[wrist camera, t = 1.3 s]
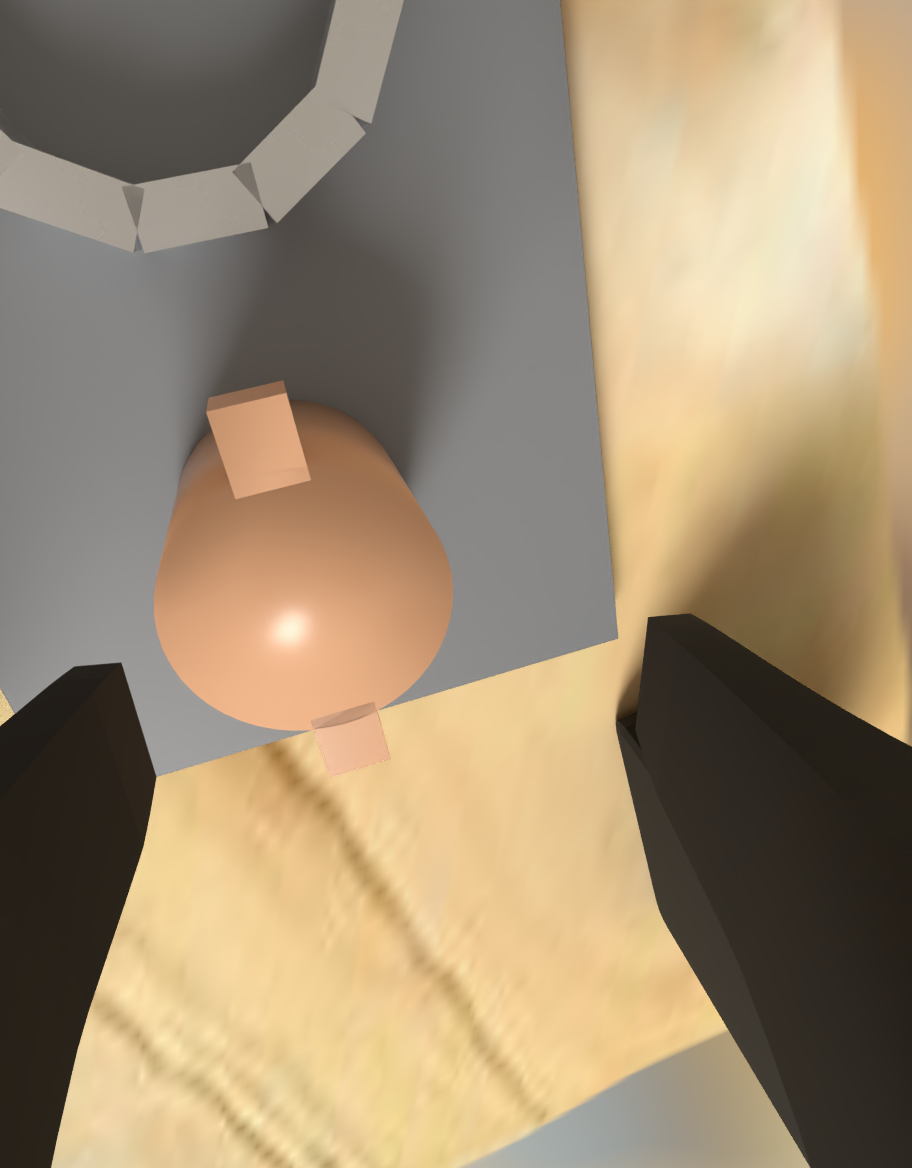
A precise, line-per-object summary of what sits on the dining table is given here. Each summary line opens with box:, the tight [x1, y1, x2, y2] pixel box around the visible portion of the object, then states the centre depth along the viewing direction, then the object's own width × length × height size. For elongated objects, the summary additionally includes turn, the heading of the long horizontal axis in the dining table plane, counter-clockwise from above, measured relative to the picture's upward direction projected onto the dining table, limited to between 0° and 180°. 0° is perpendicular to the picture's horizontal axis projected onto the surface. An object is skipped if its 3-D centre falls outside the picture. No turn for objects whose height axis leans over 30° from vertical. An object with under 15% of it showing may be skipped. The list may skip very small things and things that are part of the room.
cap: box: [154, 380, 453, 777], centre depth 15 cm, size 5×7×5 cm
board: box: [0, 0, 618, 777], centre depth 15 cm, size 15×22×1 cm
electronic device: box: [616, 714, 811, 1168], centre depth 22 cm, size 4×10×10 cm, turn 17°
